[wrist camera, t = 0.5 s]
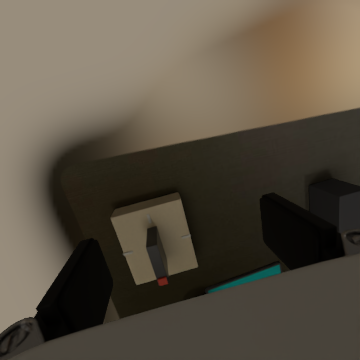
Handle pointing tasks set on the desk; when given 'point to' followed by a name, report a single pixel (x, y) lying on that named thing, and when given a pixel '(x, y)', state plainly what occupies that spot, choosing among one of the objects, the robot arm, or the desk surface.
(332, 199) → the block
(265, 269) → the smartphone
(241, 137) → the desk surface
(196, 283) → the desk surface
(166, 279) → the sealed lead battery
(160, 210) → the beige flat block
